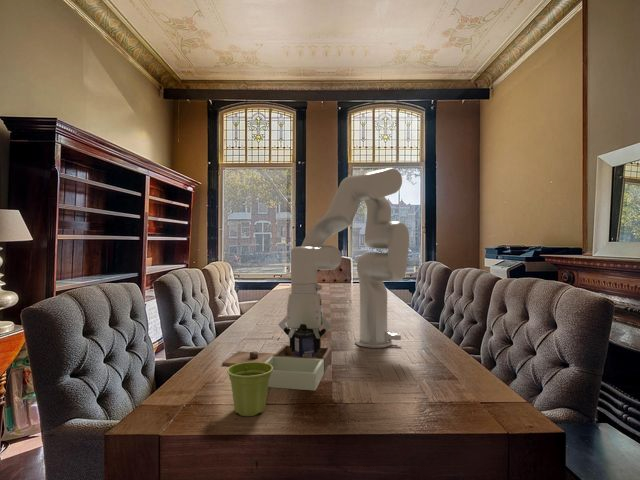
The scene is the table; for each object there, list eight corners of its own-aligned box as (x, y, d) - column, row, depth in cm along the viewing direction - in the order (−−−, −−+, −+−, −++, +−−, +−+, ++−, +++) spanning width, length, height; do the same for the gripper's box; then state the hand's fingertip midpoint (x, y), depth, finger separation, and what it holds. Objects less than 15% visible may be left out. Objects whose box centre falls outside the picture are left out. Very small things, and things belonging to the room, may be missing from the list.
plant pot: (230, 401, 82) (230, 361, 82) (273, 400, 83) (273, 360, 83) (222, 421, 73) (223, 376, 73) (271, 420, 73) (272, 375, 74)
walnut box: (331, 359, 113) (331, 347, 113) (324, 372, 101) (324, 358, 101) (284, 356, 115) (284, 345, 115) (272, 368, 104) (272, 356, 104)
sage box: (323, 374, 100) (323, 359, 100) (315, 390, 88) (315, 373, 88) (271, 370, 102) (271, 356, 102) (256, 386, 91) (256, 370, 91)
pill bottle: (318, 358, 111) (318, 320, 111) (311, 364, 105) (311, 325, 105) (299, 356, 113) (299, 319, 113) (291, 362, 107) (290, 323, 107)
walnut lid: (283, 356, 115) (283, 348, 115) (271, 368, 104) (271, 359, 104) (238, 353, 118) (238, 346, 118) (222, 365, 107) (222, 356, 107)
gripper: (335, 287, 111) (336, 348, 111) (279, 287, 114) (280, 346, 114) (331, 291, 103) (332, 356, 104) (271, 290, 107) (272, 353, 107)
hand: (305, 350), depth 109 cm, fingers closed on pill bottle, 6 cm apart
